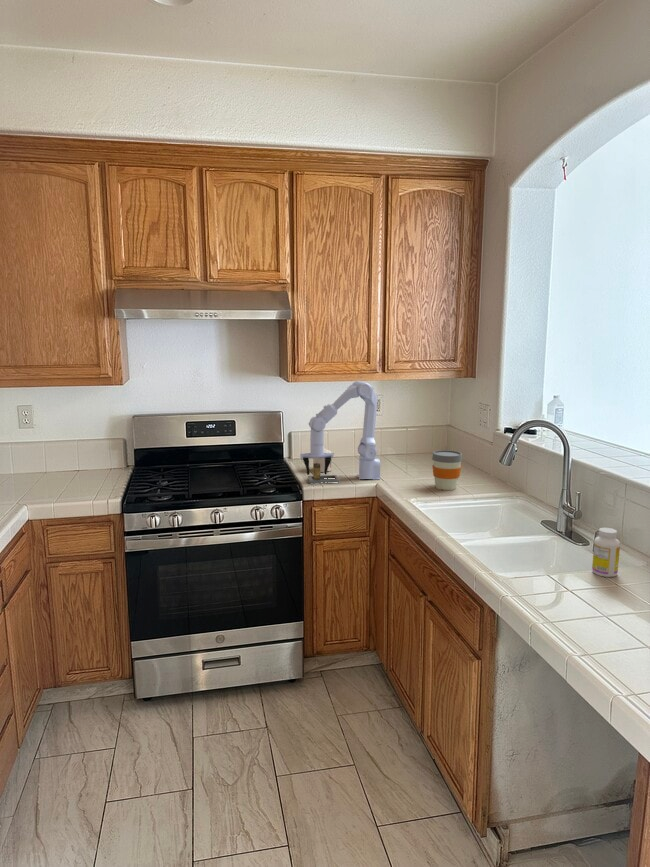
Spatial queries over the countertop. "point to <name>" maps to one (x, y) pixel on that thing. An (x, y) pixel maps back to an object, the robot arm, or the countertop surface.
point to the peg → (316, 471)
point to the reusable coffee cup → (446, 468)
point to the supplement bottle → (606, 553)
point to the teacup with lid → (322, 461)
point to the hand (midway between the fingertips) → (316, 474)
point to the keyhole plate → (323, 479)
